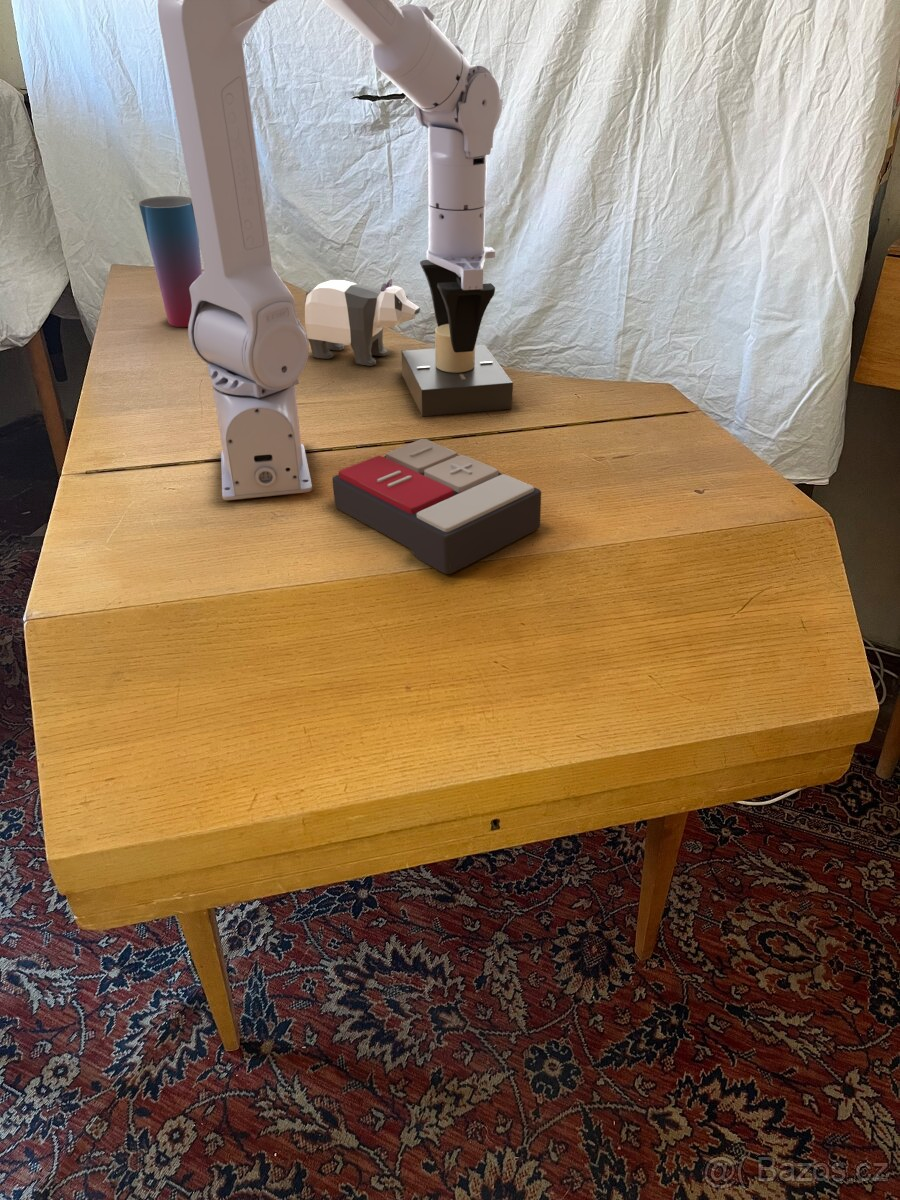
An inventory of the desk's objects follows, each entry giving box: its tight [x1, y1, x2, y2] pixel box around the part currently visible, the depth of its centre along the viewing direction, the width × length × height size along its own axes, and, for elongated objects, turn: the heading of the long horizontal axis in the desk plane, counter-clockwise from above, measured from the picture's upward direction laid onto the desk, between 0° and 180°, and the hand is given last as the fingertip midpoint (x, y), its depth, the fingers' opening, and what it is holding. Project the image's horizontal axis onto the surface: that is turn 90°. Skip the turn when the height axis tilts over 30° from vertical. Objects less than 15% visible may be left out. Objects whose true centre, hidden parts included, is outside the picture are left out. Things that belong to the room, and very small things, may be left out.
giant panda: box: [304, 278, 421, 367], centre depth 103 cm, size 15×6×10 cm, turn 70°
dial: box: [434, 324, 475, 373], centre depth 94 cm, size 4×4×4 cm
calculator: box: [331, 438, 542, 575], centre depth 73 cm, size 11×4×15 cm
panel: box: [401, 344, 514, 417], centre depth 96 cm, size 12×10×3 cm
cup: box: [138, 195, 203, 328], centre depth 112 cm, size 7×7×15 cm
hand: (455, 338), depth 94 cm, fingers open, 7 cm apart
